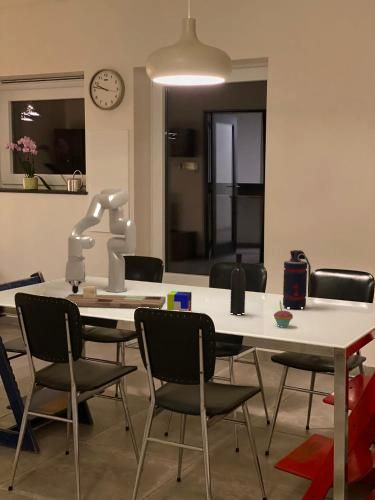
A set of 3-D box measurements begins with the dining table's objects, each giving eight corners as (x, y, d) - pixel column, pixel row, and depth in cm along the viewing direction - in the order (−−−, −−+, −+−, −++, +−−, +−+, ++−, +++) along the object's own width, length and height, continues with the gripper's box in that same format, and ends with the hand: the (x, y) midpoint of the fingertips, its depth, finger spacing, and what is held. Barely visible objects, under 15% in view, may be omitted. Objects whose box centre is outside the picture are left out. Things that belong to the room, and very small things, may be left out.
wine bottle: (229, 314, 329) (230, 253, 326) (236, 312, 333) (238, 252, 330) (238, 315, 325) (239, 254, 322) (245, 314, 329) (247, 253, 326)
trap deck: (70, 298, 366) (70, 293, 365) (165, 301, 362) (165, 296, 362) (59, 306, 342) (59, 301, 341) (160, 309, 338) (160, 304, 338)
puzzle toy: (187, 315, 324) (187, 295, 323) (167, 314, 326) (167, 294, 325) (191, 312, 334) (191, 292, 333) (171, 310, 336) (171, 291, 335)
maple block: (85, 295, 362) (85, 286, 361) (96, 295, 361) (96, 286, 361) (83, 297, 356) (83, 287, 355) (94, 297, 355) (94, 288, 355)
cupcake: (270, 326, 302) (271, 300, 301) (278, 323, 309) (279, 297, 308) (287, 329, 298) (288, 302, 296) (295, 325, 305) (296, 299, 304)
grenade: (284, 309, 343) (286, 251, 340) (281, 305, 355) (282, 249, 352) (311, 310, 343) (313, 252, 340) (307, 306, 354) (309, 249, 351)
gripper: (90, 258, 360) (90, 292, 362) (63, 258, 361) (63, 291, 363) (87, 260, 353) (87, 294, 355) (59, 259, 354) (59, 294, 356)
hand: (75, 293), depth 359 cm, fingers closed
